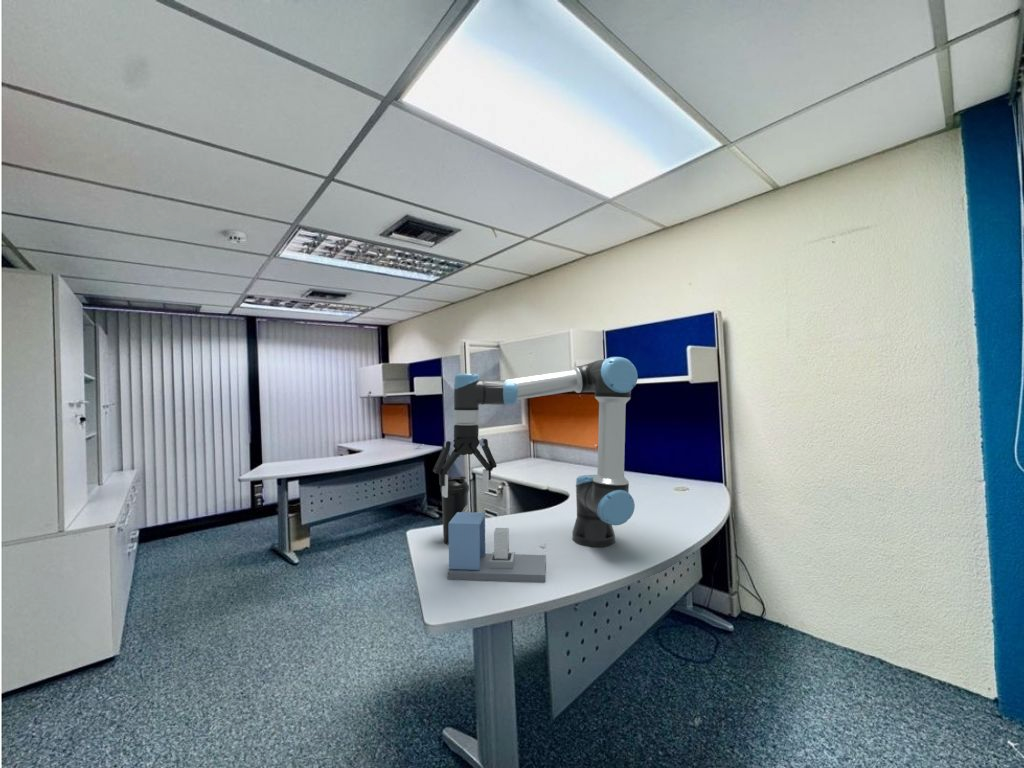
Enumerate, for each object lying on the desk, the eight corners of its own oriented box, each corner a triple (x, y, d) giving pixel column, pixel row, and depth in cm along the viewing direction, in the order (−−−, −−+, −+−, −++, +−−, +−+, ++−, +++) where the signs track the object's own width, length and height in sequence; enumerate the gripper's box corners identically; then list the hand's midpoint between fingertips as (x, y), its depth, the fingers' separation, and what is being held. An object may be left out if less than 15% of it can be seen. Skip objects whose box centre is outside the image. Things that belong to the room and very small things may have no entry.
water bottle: (464, 546, 139) (463, 480, 139) (436, 545, 141) (436, 479, 141) (473, 536, 149) (472, 474, 149) (447, 534, 151) (446, 474, 151)
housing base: (545, 561, 126) (545, 548, 126) (545, 582, 112) (545, 567, 112) (458, 559, 128) (458, 546, 128) (447, 579, 114) (447, 565, 114)
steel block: (496, 560, 122) (495, 527, 122) (509, 560, 122) (508, 527, 122) (494, 566, 118) (493, 532, 118) (507, 566, 118) (507, 532, 118)
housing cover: (485, 554, 126) (484, 512, 126) (479, 569, 115) (478, 523, 115) (457, 553, 127) (457, 512, 127) (448, 568, 116) (448, 523, 116)
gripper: (495, 422, 132) (495, 486, 131) (422, 424, 118) (422, 496, 118) (507, 423, 125) (507, 491, 125) (431, 426, 112) (430, 502, 111)
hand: (465, 493), depth 121 cm, fingers open, 13 cm apart
